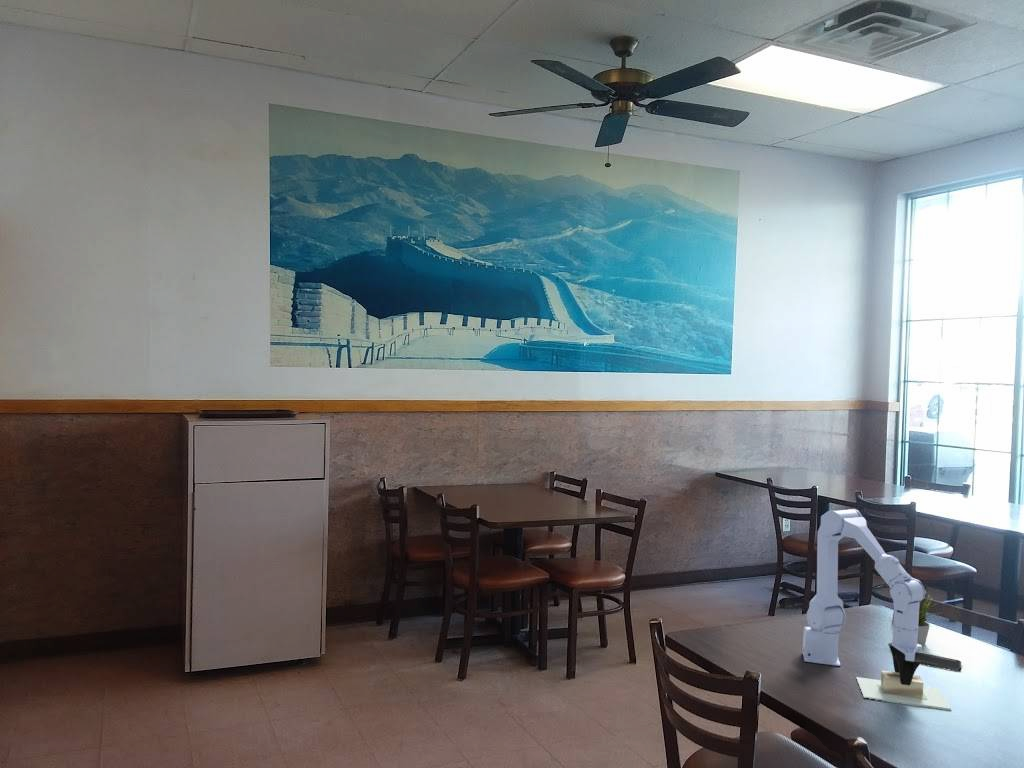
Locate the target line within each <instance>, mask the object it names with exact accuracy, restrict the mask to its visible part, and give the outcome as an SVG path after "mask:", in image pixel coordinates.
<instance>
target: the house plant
mask: <svg viewBox="0 0 1024 768" xmlns="http://www.w3.org/2000/svg"><path fill="white" fill-rule="evenodd" d="M925 595H927V590H926V589H925ZM929 599H930V600H929ZM932 600H933V596H932V597H931V598H930V594H928V596H927V598H926V600H925V601H924V599H923V600H921V601H919V602H920V605H919V621H918V636H917V644H920V645H921V646H922V647H923V646H926V643H927V639H928V634H929V630H930V626H931V625H930V623H929V621H930V619H929V618H928V619H927V617H929V616H931V615H933V614H937V615H940V613H938V612H931V613H929V614H927V615H926V613H927V612H928V611H929V610H930V609H931V608H933V606H935V605H936V604H937V602H936V603H934V604H932ZM915 603H916V602H915ZM923 603H924V604H923ZM931 604H932V605H931ZM930 605H931V606H930ZM927 621H928V622H927Z"/></svg>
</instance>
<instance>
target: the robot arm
mask: <svg viewBox="0 0 1024 768" xmlns="http://www.w3.org/2000/svg"><path fill="white" fill-rule="evenodd" d="M844 537H845V538H850V539H854V540H855V541H856V542H857V543H858V544H859V545H860V546H861V548H862V549H864V551H865V552H866V553H867V554H868V555H869V556H870V557H871V558H872V560H874V569H875V571H876V572H877V573H878V575H880V577H881V578H882V579H883V581H884V582H885V583H886V584H887V586H888V587H889V594H890V597H891V599H892V601H893V602H892V603H893V604H892V605H893V607H894V608H893V613H894V614H893V625H892V626H893V627H892V640H891V642H890V643H888V647H889V649H890V652H891V656H892V664H893V669H894V672H897V673H899V675H900V682H901V684H902V685H910V684H911V682H912V678H913V675H915V672H916V670H917V669H918V668H919V666H920V665H921V664H920V660H919V659H915V652H918V650H922V649H923V646H921V645H920V644H917V636H918V621H919V605H920V602H919V601H921V600H923V601H924V599H925V597H926V594H925V590H926V589H925V587H924V585H923V583H922V582H921V580H919V579H917V578H914V577H912V576H911V575H910V573H908V572H907V571H906V570H905V568H904V567H903V565H901V564H900V560H899V558H898V557H895V556H894V555H891V554H887V553H886V552H885V550H884V549H883V547H882V545H880V543H879V541H878V540H877V539H876V537H875V536H874V535H873V533H872V532H871V530H870V529H869V528H868V524H867V520H866V518H865V517H864V516H863V515H862V514H861V512H860V510H858V509H855V508H849V509H841V510H840V509H838V510H828V511H826V512H825V513H824V514H822V515H821V516H820V526H819V528H818V530H817V537H816V538H817V539H816V540H817V543H816V544H817V547H816V549H817V554H816V594H815V595H814V596H813V598H811V600H810V601H809V603H808V604H809V605H808V606H809V607H808V610H807V612H806V621H807V623H808V625H809V626H804V627H803V637H802V646H801V647H802V648H801V652H802V655H803V661H804V662H805V663H806V662H807V663H813V664H822V665H828V666H829V665H830V666H834V667H835V666H836V667H841V662H840V659H839V655H838V654H839V640H840V639H839V638H840V631H841V628H842V626H843V625H844V624H845V623H846V621H847V620H846V619H847V618H846V615H847V614H846V612H845V609H844V601H843V600H842V598H840V597H839V596H838V590H839V589H838V587H839V586H838V582H839V581H838V579H839V578H838V577H839V575H838V574H839V573H838V572H839V570H838V569H839V541H840V540H842V539H843V538H844ZM915 602H916V603H915Z"/></svg>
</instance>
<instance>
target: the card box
mask: <svg viewBox="0 0 1024 768" xmlns="http://www.w3.org/2000/svg"><path fill="white" fill-rule="evenodd" d="M880 675H881V676H880V680H881V687H882V690H883V692H884V693H888V694H895V695H902V696H909V697H916V698H923V686H924V681H923V680H922V678H921V676H920V675H918V674H914V675H913V678H912V682H911V684H910V685H902V684H901V682H900V675H899V673H897V672H895V671H889V670H888V671H887V670H881V674H880Z"/></svg>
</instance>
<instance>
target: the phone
mask: <svg viewBox="0 0 1024 768" xmlns="http://www.w3.org/2000/svg"><path fill="white" fill-rule="evenodd" d="M915 659H919V660H920V665H923V664H924V665H923V666H928V665H929V666H928V667H933V666H934V667H933V668H937V667H939V668H938V669H942V668H945V669H944V670H947V669H950V670H949V671H952V670H954V671H953V672H958V671H959V672H962V661H961V660H958V659H954V658H950V657H949V658H948V657H944V656H938V655H934V654H928V653H924V652H919V651H916V652H915Z"/></svg>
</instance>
